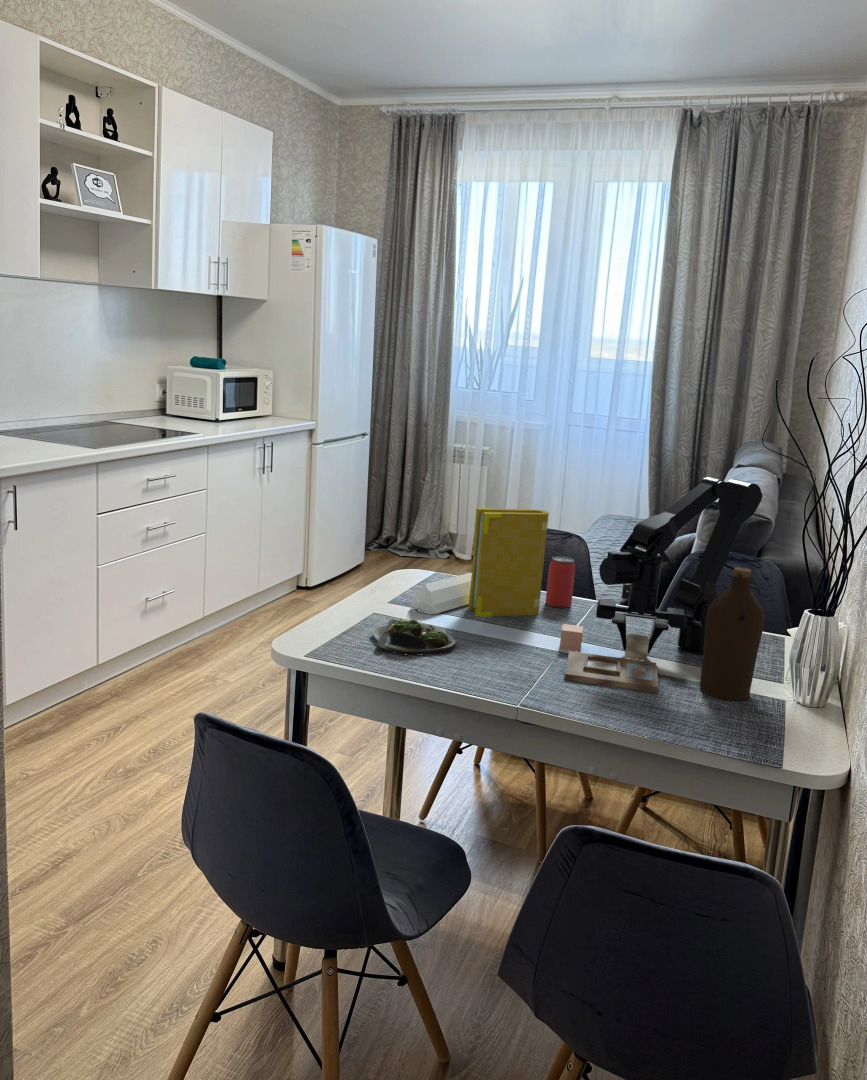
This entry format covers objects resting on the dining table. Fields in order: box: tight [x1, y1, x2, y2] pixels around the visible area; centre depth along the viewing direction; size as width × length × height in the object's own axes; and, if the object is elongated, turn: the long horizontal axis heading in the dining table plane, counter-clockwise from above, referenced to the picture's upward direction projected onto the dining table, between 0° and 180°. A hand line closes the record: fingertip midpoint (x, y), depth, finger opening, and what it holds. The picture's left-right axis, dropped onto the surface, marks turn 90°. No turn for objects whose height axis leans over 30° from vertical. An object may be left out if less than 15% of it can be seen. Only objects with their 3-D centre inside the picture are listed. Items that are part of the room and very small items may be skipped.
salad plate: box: [371, 618, 457, 656], centre depth 192 cm, size 19×18×5 cm
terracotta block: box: [559, 623, 584, 652], centre depth 194 cm, size 4×4×4 cm
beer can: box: [545, 556, 576, 609], centre depth 225 cm, size 7×7×12 cm
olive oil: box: [699, 566, 765, 701], centre depth 173 cm, size 11×11×25 cm
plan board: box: [563, 651, 659, 694], centre depth 180 cm, size 18×14×2 cm
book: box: [467, 507, 550, 618], centre depth 214 cm, size 17×7×25 cm, turn 105°
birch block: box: [624, 631, 650, 662], centre depth 192 cm, size 4×4×4 cm
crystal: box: [411, 571, 472, 615], centre depth 219 cm, size 7×7×24 cm
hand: (636, 651), depth 192 cm, fingers closed on birch block, 4 cm apart
